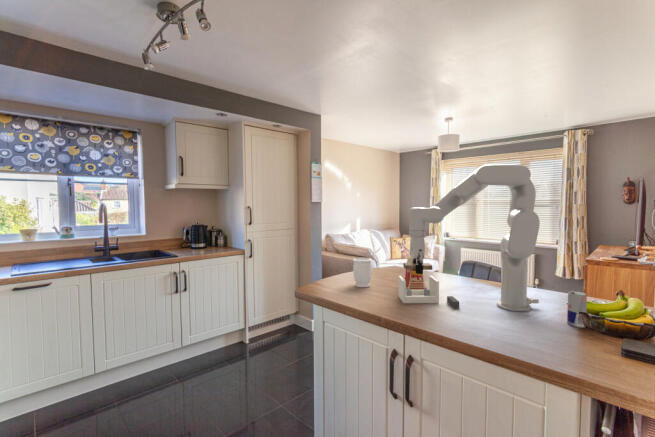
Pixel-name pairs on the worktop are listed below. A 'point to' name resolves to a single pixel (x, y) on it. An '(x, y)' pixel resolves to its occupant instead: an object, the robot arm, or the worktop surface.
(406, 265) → the board
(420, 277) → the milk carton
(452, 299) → the rubber block
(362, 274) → the jar
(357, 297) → the worktop surface
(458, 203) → the robot arm
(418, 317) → the worktop surface
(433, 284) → the peg frame
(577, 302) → the energy drink
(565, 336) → the worktop surface
